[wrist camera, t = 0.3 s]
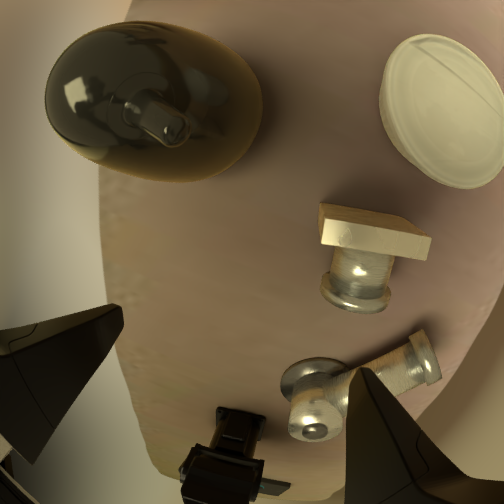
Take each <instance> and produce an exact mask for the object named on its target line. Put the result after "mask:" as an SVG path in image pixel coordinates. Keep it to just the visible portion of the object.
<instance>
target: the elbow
mask: <svg viewBox="0 0 504 504" xmlns="http://www.w3.org/2000/svg"><path fill="white" fill-rule="evenodd" d="M409 339H410V342H408V343H406V344H405V345H403V346H401V347H399V348H397V349H395V350H393V351H391V352H389V353H387V354H385V355H383V356H381V357H379V358H377V359H375V360H373V361H370V362H368V363H366V364H364V365H362V366H359V367H368V368H370V369H371V370H372V371H373V372H374V373H375V374H376V375H377V377H378V378H379V379H380V380H381V381H382V382H383V384H384V385H385V386H386V387H387V388H388V390H389V391H390V392H391V393H392V394H393V395H394V397H396V396H398V395H400V394H403V393H405V392H407V391H409V390H411V389H413V388H415V387H417V386H419V385H421V384H423V383H425V382H426V384H427V386H429V385H431V384H433V383H435V382H437V381H438V380H440V379H442V375H441V371H440V367H439V364H438V361H437V358H436V356H435V353H434V351H433V348H432V346H431V344H430V341H429V339H428V337H427V335H426V333H425V332H424V330H423V329H421V330H420V331H418V332H416V333H414V334H413V335H411V336H409ZM359 367H357V368H355V369H353V370H350V371H348V372H346V373H343V374H341V375H338V376H336V377H333V376H331V375H328V374H324V373H314V374H308V375H305V376H303V377H301V378H300V379H298V380H297V381H296V382H295V384H294V386H293V392H292V400H291V408H290V415H289V422H288V432H289V434H290V435H291V436H292V437H294V438H296V439H298V440H301V441H306V442H321V441H326V440H329V439H332V438H334V437H336V436H337V435H338V434H339V433H340V432H341V431H342V428H343V421H342V418H343V417H346V416H347V406H348V393H349V385H350V382H351V380H352V378H353V376H354V375H355V373H356V371H357V369H358V368H359Z"/></svg>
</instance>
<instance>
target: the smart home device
mask: <svg viewBox="0 0 504 504" xmlns="http://www.w3.org/2000/svg"><path fill="white" fill-rule="evenodd" d="M289 488H290V483H288V482H282V481H277V480H271V479H266V478H261V484H260V488H259V491H258V493H263V494H268V495H273V496H279V495H280V494H282V493H283V492H285V491H286V490H287V489H289Z"/></svg>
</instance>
